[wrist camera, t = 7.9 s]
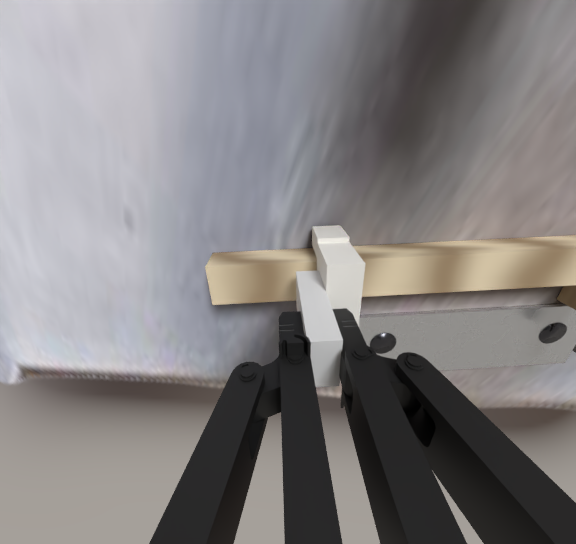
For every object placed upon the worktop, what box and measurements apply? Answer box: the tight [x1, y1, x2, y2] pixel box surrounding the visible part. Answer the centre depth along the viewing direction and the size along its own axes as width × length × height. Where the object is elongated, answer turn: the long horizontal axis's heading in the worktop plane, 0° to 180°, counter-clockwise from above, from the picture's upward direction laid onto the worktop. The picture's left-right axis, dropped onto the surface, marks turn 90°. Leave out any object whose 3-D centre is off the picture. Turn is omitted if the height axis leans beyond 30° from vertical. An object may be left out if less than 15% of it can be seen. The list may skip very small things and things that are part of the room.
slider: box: [312, 225, 365, 327], centre depth 19 cm, size 2×12×6 cm, turn 2°
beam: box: [205, 235, 576, 352], centre depth 19 cm, size 32×10×6 cm, turn 92°
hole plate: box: [359, 304, 576, 371], centre depth 24 cm, size 7×26×1 cm, turn 92°
